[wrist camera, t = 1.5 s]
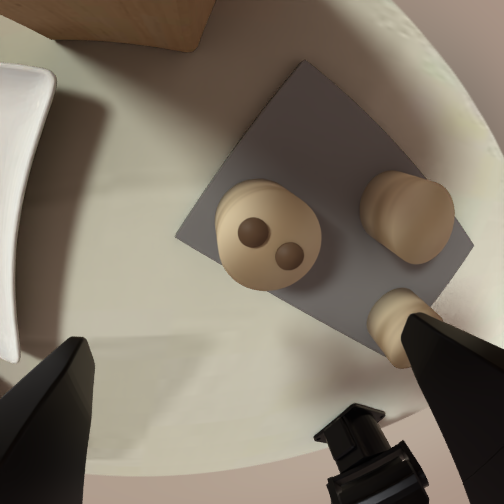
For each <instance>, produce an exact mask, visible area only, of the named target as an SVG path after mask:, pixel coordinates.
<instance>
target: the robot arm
mask: <svg viewBox="0 0 504 504" xmlns="http://www.w3.org/2000/svg"><path fill="white" fill-rule="evenodd" d="M401 343H402V345H403V348H404V350H405V353H406V355H407V357H408V360H409V362H410V365H411V367H412V370H413V372H414V375H415V377H416V380H417V382H418V384H419V386H420V388H421V390H422V392H423V394H424V396H425V398H426V400H427V402H428V405H429V407H430V409H431V411H432V413H433V415H434V417H435V419H436V421H437V423H438V426H439V428H440V430H441V432H442V434H443V437H444V439H445V441H446V443H447V446H448V448H449V450H450V453H451V455H452V457H453V460H454V462H455V465H456V467H457V469H458V471H459V475H460V477H461V479H462V482H463V485H464V488H465V491H466V493H467V496H468V499H469V501H470V504H504V349H502V348H500V347H498V346H495V345H493V344H491V343H489V342H487V341H484V340H482V339H480V338H478V337H476V336H474V335H471V334H469V333H467V332H465V331H463V330H460V329H458V328H456V327H454V326H452V325H449V324H447V323H445V322H443V321H440V320H438V319H436V318H434V317H432V316H429V315H427V314H425V313H422V312H417V313H412V314H410V315H409V316H408V318H407V321H406V323H405V326H404V328H403V331H402V333H401ZM94 373H95V363H94V359H93V356H92V353H91V351H90V348H89V345H88V342H87V340H86V338H84V337H70V338H68V339H67V340H66V341H65V342H63V343H62V344H61V345H60V346H59V347H58V348H56V349H55V350H54V351H53V352H52V353H51V354H49V355H48V356H47V357H46V358H45V359H44V360H43V361H41V362H40V363H39V364H38V365H37V366H36V367H35V368H34V369H32V370H31V371H30V372H29V373H28V374H27V375H26V376H25V377H23V378H22V379H21V380H20V381H19V382H18V383H17V384H16V385H15V386H14V387H13V388H11V389H10V390H9V391H8V392H7V393H6V394H5V395H4V396H3V397H2V398H1V399H0V504H82V500H83V486H84V474H85V464H86V455H87V447H88V440H89V433H90V426H91V417H92V400H93V385H94ZM384 417H385V413H384V412H382V411H379V410H375V409H372V408H368V407H365V406H361V405H358V404H353V405H351V406H350V407H348V408H347V409H346V410H345V411H344V412H343V413H342V414H340V415H339V416H338V417H337V418H336V419H335V420H333V421H332V422H331V423H330V424H329V425H327V426H326V427H325V428H324V429H322V430H321V431H320V432H319V433H317V434H316V435H315V436H314V437H313V438H314V440H315V441H317V442H323V443H327V444H328V446H329V449H330V451H331V454H332V456H333V459H334V460H335V461H336V464H337V466H338V469H339V471H340V474H339V475H337V476H334V477H330V478H328V484H327V485H326V486H327V488H328V491H329V494H330V498H331V504H429V497H428V495H427V493H426V491H425V489H424V488H425V487H427V486H429V483H428V480H427V478H426V476H425V474H424V472H423V470H422V468H421V466H420V465H419V463H418V462H417V460H416V458H415V457H414V455H413V454H412V452H411V451H410V449H409V448H408V446H407V445H406V443H405V442H404V441H403V440H402V441H401V442H399V444H397V445H395V446H394V447H392V448H391V447H390V445H389V443H388V441H387V439H386V438H385V436H384V434H383V432H382V430H381V428H380V427H379V425H378V422H379V421H380V420H382V419H383V418H384ZM404 459H405V460H404ZM402 460H404V461H402Z"/></svg>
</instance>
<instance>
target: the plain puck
mask: <svg viewBox="0 0 504 504" xmlns="http://www.w3.org/2000/svg"><path fill="white" fill-rule="evenodd" d="M454 217H455V212H454V204H453V201H452V198H451V196H450V194H449V192H448V191H447V190H446V189H445V188H444V187H443V186H442V185H440V184H438V183H435V182H432V181H429V180H426V179H423V178H420V177H416V176H413V175H410V174H406V173H403V172H399V171H394V170H390V171H385V172H382V173H380V174H378V175H377V176H375V177H374V178H373V179H372V180H371V181H370V182H369V184H368V185H367V186H366V188H365V190H364V192H363V194H362V197H361V201H360V219H361V223H362V226H363V228H364V229H365V231H366V232H367V233H368V234H369V235H370V236H371V237H372V238H374V239H375V240H377V241H378V242H379V243H381V244H382V245H384V246H385V247H386V248H388V249H389V250H391V251H392V252H393V253H395V254H396V255H397V256H399V257H400V258H401V259H403V260H404V261H406V262H408V263H411V264H422V263H425V262H428V261H430V260H431V259H433V258H434V257H436V256H437V255H438V254H439V253H440V252H441V251H442V249H443V248H444V247H445V245H446V243H447V242H448V240H449V238H450V235H451V233H452V229H453V225H454Z"/></svg>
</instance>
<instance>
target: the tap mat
mask: <svg viewBox="0 0 504 504" xmlns="http://www.w3.org/2000/svg"><path fill="white" fill-rule="evenodd" d="M390 170H394V171H399V172H403V173H406V174H410V175H413V176H416V177H420V178H423V179H426V178H425V177H424V175H423V174H422V173H421V172H420V171H419V169H418V168H417V167H416V166H415V165H414V163H413V162H412V161H411V160H410V159H409V158H408V157H407V155H406V154H405V153H404V152H403V151H402V150H401V149H400V148H399V146H398V145H397V144H396V143H395V142H394V141H393V140H392V139H391V138H390V137H389V136H388V135H387V134H386V132H385V131H384V130H383V129H382V128H381V127H380V126H379V125H378V124H377V123H376V122H375V121H374V120H373V119H372V118H371V117H370V116H369V115H368V114H367V113H366V112H365V111H364V110H363V109H362V108H360V107H359V106H358V105H357V104H356V103H355V102H354V101H353V100H352V99H351V98H350V97H349V96H348V95H346V94H345V93H344V92H343V91H342V90H341V89H340V88H339V87H338V86H336V85H335V84H334V83H333V82H332V81H331V80H329V79H328V78H327V77H326V76H325V75H323V74H322V73H321V72H320V71H319V70H317V69H316V68H315V67H314V66H312V65H311V64H310V63H309V62H307V61H306V60H303V61H302V62H301V63H300V64H299V65H298V67H297V68H296V69H295V70H294V71H293V73H292V74H291V75H290V76H289V78H288V79H287V80H286V81H285V82H284V84H283V85H282V86H281V87H280V89H279V90H278V91H277V92H276V94H275V95H274V96H273V98H272V99H271V100H270V101H269V103H268V104H267V105H266V106H265V108H264V109H263V110H262V112H261V113H260V114H259V116H258V117H257V118H256V120H255V121H254V122H253V123H252V125H251V126H250V127H249V129H248V130H247V131H246V133H245V134H244V136H243V137H242V138H241V140H240V141H239V142H238V144H237V145H236V146H235V148H234V149H233V151H232V152H231V153H230V155H229V156H228V158H227V159H226V160H225V162H224V163H223V165H222V166H221V167H220V169H219V170H218V172H217V173H216V174H215V176H214V177H213V179H212V180H211V182H210V183H209V185H208V186H207V188H206V189H205V190H204V192H203V193H202V195H201V196H200V198H199V199H198V201H197V202H196V204H195V205H194V207H193V208H192V210H191V211H190V213H189V214H188V216H187V217H186V219H185V221H184V222H183V224H182V225H181V227H180V228H179V230H178V231H177V233H176V235H175V238H177V239H179V240H180V241H182V242H184V243H185V244H187V245H189V246H190V247H192V248H194V249H195V250H197V251H199V252H200V253H202V254H204V255H206V256H207V257H209V258H211V259H212V260H214V261H216V262H217V263H219V264H221V265H222V262H221V260H220V256H219V251H218V244H217V236H216V229H215V213H216V209H217V206H218V204H219V202H220V200H221V198H222V197H223V196H224V194H225V193H226V192H227V191H228V190H229V189H230V188H232V187H233V186H234V185H236V184H238V183H240V182H242V181H245V180H249V179H256V178H257V179H268V180H271V181H274V182H276V183H278V184H280V185H281V186H283V187H284V188H286V189H287V190H288V191H290V192H291V193H293V194H294V195H295V196H297V197H298V198H300V199H301V200H302V201H304V202H305V203H306V204H307V205H308V206H309V207H310V208H311V209H312V210H313V212H314V213H315V215H316V217H317V219H318V221H319V225H320V228H321V247H320V251H319V254H318V257H317V259H316V261H315V263H314V264H313V266H312V267H311V269H310V270H309V271H308V272H307V273H306V274H305V275H304V276H303V277H302V278H301V279H300V280H298V281H297V282H295V283H293V284H292V285H290V286H287V287H285V288H282V289H278V290H272V291H267V292H269V293H271V294H273V295H274V296H276V297H278V298H280V299H282V300H283V301H285V302H287V303H289V304H290V305H292V306H294V307H296V308H297V309H299V310H301V311H303V312H305V313H306V314H308V315H310V316H312V317H314V318H315V319H317V320H319V321H321V322H323V323H324V324H326V325H328V326H330V327H332V328H333V329H335V330H337V331H339V332H341V333H343V334H344V335H346V336H348V337H350V338H352V339H354V340H355V341H357V342H359V343H361V344H363V345H365V346H366V347H368V348H370V349H372V350H374V351H376V352H378V353H380V354H381V355H383V356H385V357H386V355H385V354H384V353H383V351H382V350H381V349H380V347H379V346H378V345H377V343H376V342H375V341H374V339H373V338H372V337H371V335H370V334H369V332H368V330H367V318H368V315H369V312H370V311H371V309H372V307H373V306H374V304H375V303H376V302H377V301H378V300H379V299H380V298H381V297H382V296H383V295H384V294H386V293H387V292H389V291H391V290H393V289H396V288H408V289H410V290H411V291H413V292H414V293H415V294H416V295H417V296H418V297H419V298H421V299H422V300H423V301H424V302H425V303H426V304H427V305H428V306H429V307H431V305H432V304H433V303H434V302H435V300H436V299H437V298H438V296H439V295H440V294H441V292H442V291H443V290H444V288H445V287H446V286H447V284H448V283H449V282H450V280H451V279H452V277H453V276H454V275H455V273H456V272H457V270H458V269H459V267H460V266H461V265H462V263H463V262H464V260H465V259H466V257H467V256H468V254H469V253H470V251H471V250H472V248H473V246H474V244H473V243H472V241H471V240H470V238H469V237H468V235H467V234H466V232H465V231H464V229H463V228H462V226H461V225H460V223H459V222H458V220H457V219H456V218H455V217H454V225H453V229H452V233H451V235H450V238H449V240H448V242H447V243H446V245H445V247H444V248H443V249H442V251H441V252H440V253H439V254H438V255H437V256H436V257H434V258H433V259H431V260H430V261H428V262H425V263H422V264H411V263H408V262H406V261H404V260H403V259H401V258H400V257H399V256H397V255H396V254H395V253H393V252H392V251H391V250H389V249H388V248H386V247H385V246H384V245H382V244H381V243H379V242H378V241H377V240H375V239H374V238H372V237H371V236H370V235H369V234H368V233H367V232H366V231H365V229H364V228H363V226H362V223H361V219H360V201H361V197H362V194H363V192H364V190H365V188H366V186H367V185H368V184H369V182H370V181H371V180H372V179H373V178H374V177H375V176H377V175H378V174H380V173H382V172H385V171H390ZM426 180H427V179H426Z"/></svg>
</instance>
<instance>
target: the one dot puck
mask: <svg viewBox="0 0 504 504" xmlns="http://www.w3.org/2000/svg"><path fill="white" fill-rule="evenodd" d="M417 312H422V313H425V314H427V315H429V316H432V317H434V318H436V319H438V320H440V321H443V320H442V318H441V317H440V316H439V315H438V314H437V313H436V312H435V311H434V310H433V309H432V308H431V307H429V306H428V305H427V304H426V303H425V302H424V301H423V300H422V299H421V298H419V297H418V296H417V295H416V294H415V293H414V292H413V291H411V290H410V289H408V288H396V289H393V290H391V291H389V292H387V293H386V294H384V295H383V296H382V297H381V298H380V299H379V300H378V301H377V302H376V303H375V304H374V306H373V307H372V309H371V311H370V312H369V315H368V318H367V330H368V332H369V334H370V335H371V337H372V338H373V339H374V341H375V342H376V343H377V345H378V346H379V347H380V349H381V350H382V351H383V353H384V354H385V355H386V357H387V358H388V359H389V361H390V362H391V363H392V365H393V366H394V367H396V368H400V369H404V368H409V367H411V365H410V362H409V360H408V357H407V355H406V353H405V350H404V348H403V345H402V343H401V333H402V331H403V328H404V326H405V323H406V321H407V318H408V316H409V315H410V314H412V313H417Z"/></svg>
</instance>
